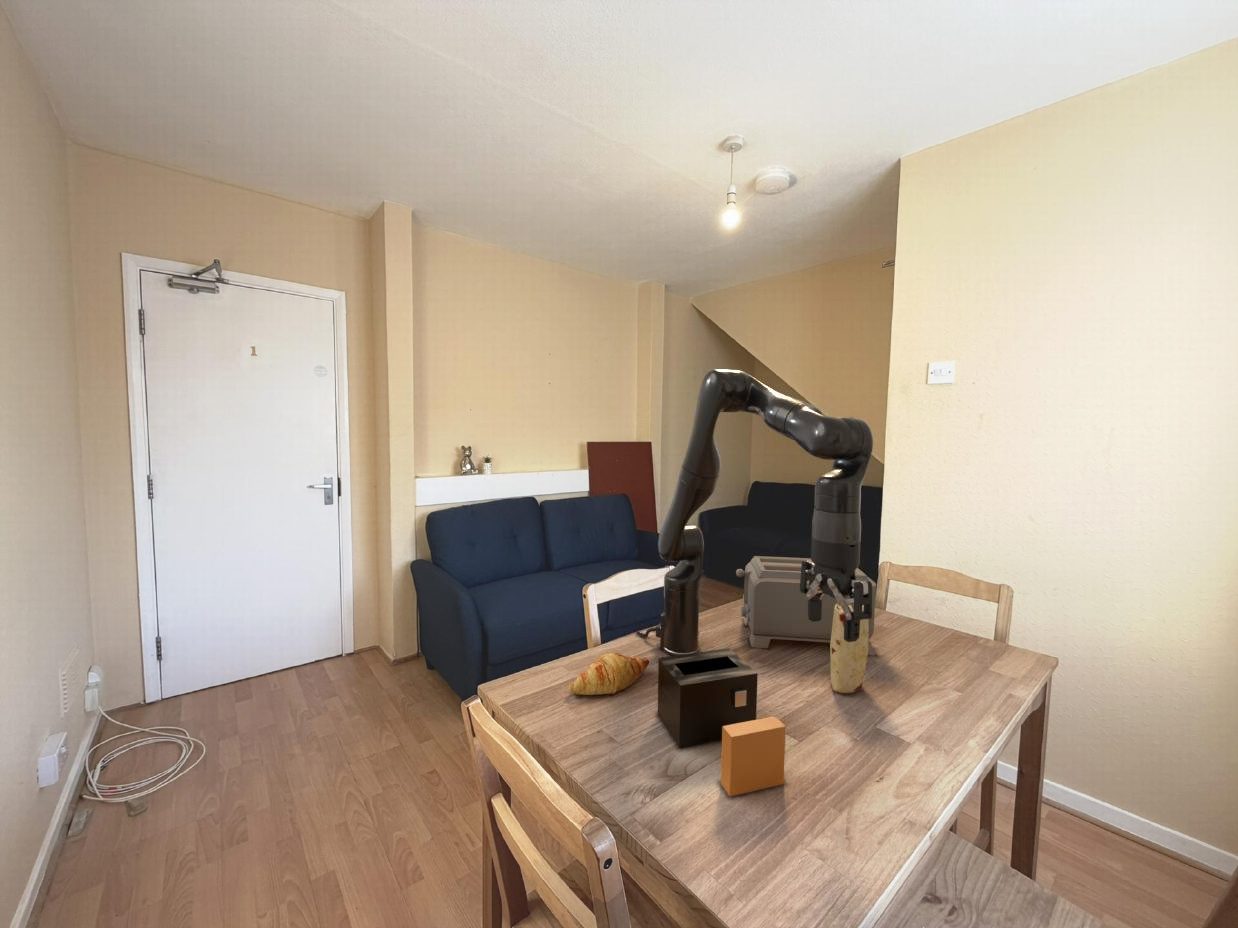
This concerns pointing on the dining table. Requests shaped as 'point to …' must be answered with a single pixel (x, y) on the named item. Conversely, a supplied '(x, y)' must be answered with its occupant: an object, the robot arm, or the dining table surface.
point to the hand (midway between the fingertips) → (831, 630)
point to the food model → (847, 654)
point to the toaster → (786, 603)
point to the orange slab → (752, 755)
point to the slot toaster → (705, 695)
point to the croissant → (609, 674)
